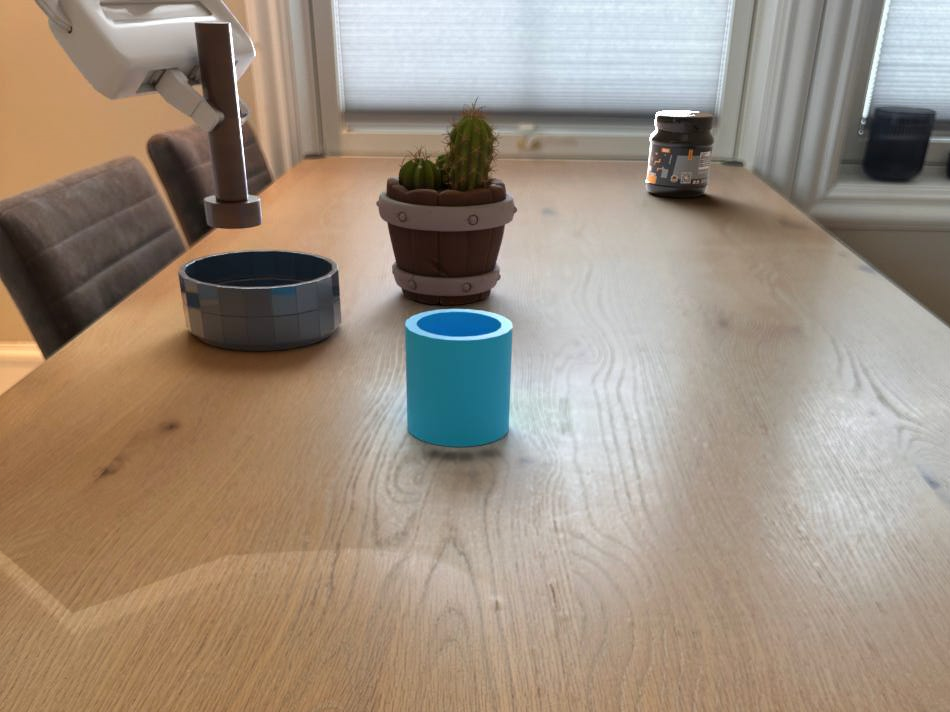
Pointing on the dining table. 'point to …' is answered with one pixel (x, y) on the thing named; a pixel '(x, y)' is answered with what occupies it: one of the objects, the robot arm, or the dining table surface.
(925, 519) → the dining table surface
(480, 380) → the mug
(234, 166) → the stick
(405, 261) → the flowerpot
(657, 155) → the supplement container
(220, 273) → the bowl
